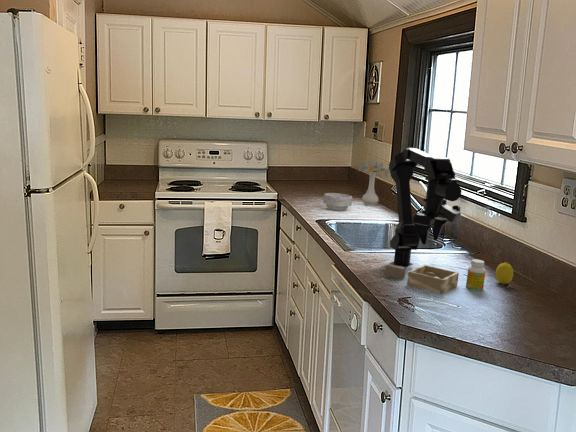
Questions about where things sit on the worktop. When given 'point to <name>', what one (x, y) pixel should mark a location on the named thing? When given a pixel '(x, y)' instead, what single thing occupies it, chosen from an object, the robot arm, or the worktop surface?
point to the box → (432, 279)
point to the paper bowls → (337, 201)
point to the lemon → (504, 273)
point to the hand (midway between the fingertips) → (429, 242)
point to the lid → (395, 271)
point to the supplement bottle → (476, 275)
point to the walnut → (431, 274)
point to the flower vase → (372, 181)
